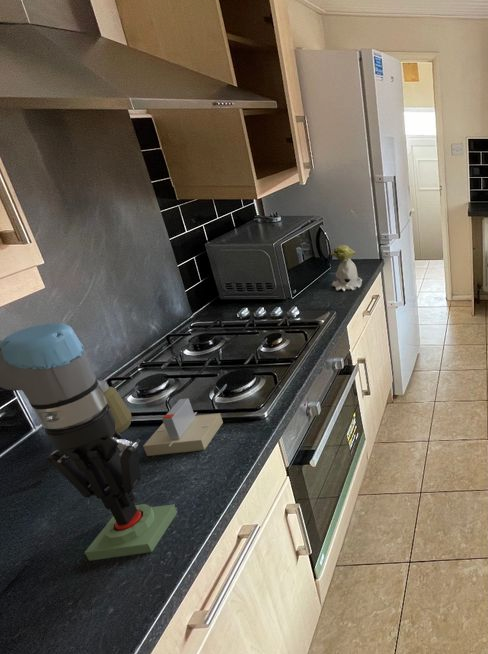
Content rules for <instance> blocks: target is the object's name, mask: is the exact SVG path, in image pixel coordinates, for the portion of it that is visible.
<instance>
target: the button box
mask: <svg viewBox="0 0 488 654" xmlns="http://www.w3.org/2000/svg"><path fill="white" fill-rule="evenodd" d="M135 506H136V509H137V510H139V511H140V512H141V514H142V516H143V517H142V518H141V519H140V521H139V522H138V523H136V524H135V525H134V526H133V527H131V528H128V529H126V530H124V531H117V529H116V527H115V522H116V520H115V518H114V516H113V515H112V517H111V518H110V519H109V520H108V522H107V523H106V525H105V526H104V527H103V528H102V530H101V531H100V532H99V533H98V534H97V536H96V537H95V538H94V540H92V541H91V544H90V545H89V546H88V547H87V548H86V550H85V551H84V555H85V556H86V558H87V560H88V561H90V562H91V561H98V560H104V559H111V558H118V557H125V556H133V555H140V554H141V555H142V554H149V553H152V552H153V551H154V549H155V548H156V546H157V545H158V544H159V541H160V540H161V539H162V537H163V536H164V534H165V532H166V531H167V529H168V528H169V527H170V524H171V523H172V521H173V520H174V518H175V517H176V515H177V514H178V510H177V507H176V505H175V504H174V503H173V504H165V505H158V506H157V505H156V506H151V505H148V504H146V503H141V504H135Z"/></svg>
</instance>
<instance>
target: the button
mask: <svg viewBox="0 0 488 654" xmlns="http://www.w3.org/2000/svg"><path fill="white" fill-rule="evenodd" d="M142 517H143V516H142V514H141V512H140V511H139V510H137V512H136V513H135V515H134V516H133V517H132V519H131V520H130V521H129V523H128V524H124V525H118V524H117V522H115V527H116V529H117V531H124V530H126V529H128V528H131V527H133V526H134V525H135V524H136V523H138V522H139V521H140V519H141V518H142Z"/></svg>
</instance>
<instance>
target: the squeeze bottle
mask: <svg viewBox="0 0 488 654" xmlns="http://www.w3.org/2000/svg"><path fill="white" fill-rule="evenodd" d="M97 381H98V383H99V385H100V387H101V389H102V391H103V393H104V395H105V397H106V400H107V404H108V405H109V407H110V409H111V411H112V413H113V415H114V418H115V421H116V422H115V429H116V431H117V432H118V433H120V434H121V433H123V432H124V431H125V430H127V429H128V428H129V427H130V425H131V423H132V413H131V411H130V409H129V408H128V407H127V405H126V403H125V402H124V400H123V398H122V397H121V395H120V394H119V392H118V391H117V389H116V388H115V387H113V386H109V384H108V383H107V381H106V380H104V379H103V380H101V379H100V380H98V379H97Z"/></svg>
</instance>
